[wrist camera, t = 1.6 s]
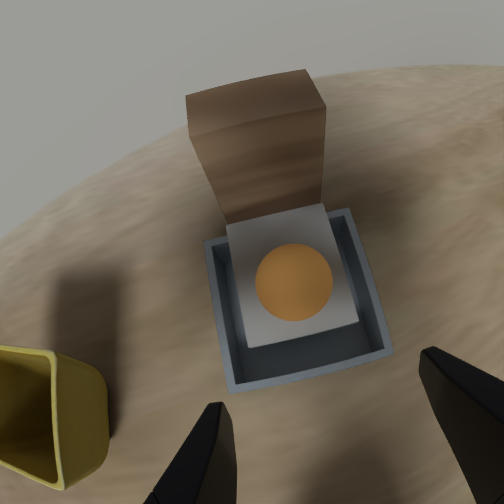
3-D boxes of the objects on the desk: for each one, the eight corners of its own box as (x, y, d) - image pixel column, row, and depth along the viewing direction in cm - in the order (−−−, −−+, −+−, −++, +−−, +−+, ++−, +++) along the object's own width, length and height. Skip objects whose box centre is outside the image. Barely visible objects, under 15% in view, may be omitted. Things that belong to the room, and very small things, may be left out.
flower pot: (128, 363, 23) (54, 349, 15) (133, 466, 20) (63, 493, 11) (50, 357, 24) (-24, 339, 16) (53, 447, 21) (-20, 454, 12)
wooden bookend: (347, 331, 21) (403, 275, 10) (258, 353, 22) (207, 322, 10) (309, 200, 26) (309, 68, 14) (231, 218, 26) (181, 96, 14)
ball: (338, 272, 18) (347, 245, 15) (315, 336, 17) (319, 325, 14) (275, 250, 20) (269, 220, 16) (249, 312, 18) (236, 294, 15)
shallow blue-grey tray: (378, 358, 21) (394, 354, 17) (240, 391, 21) (228, 394, 18) (342, 232, 25) (348, 207, 21) (217, 261, 25) (203, 241, 21)
